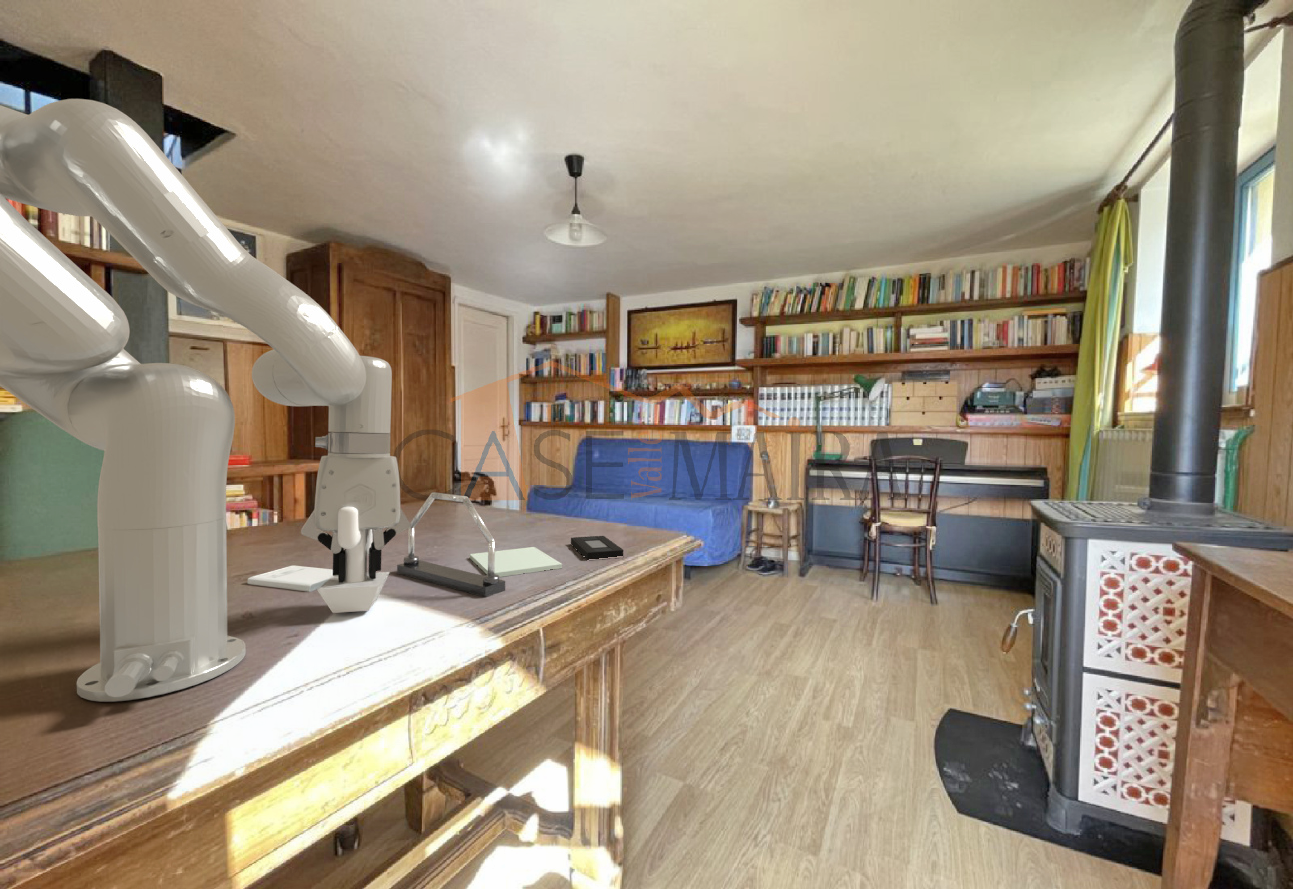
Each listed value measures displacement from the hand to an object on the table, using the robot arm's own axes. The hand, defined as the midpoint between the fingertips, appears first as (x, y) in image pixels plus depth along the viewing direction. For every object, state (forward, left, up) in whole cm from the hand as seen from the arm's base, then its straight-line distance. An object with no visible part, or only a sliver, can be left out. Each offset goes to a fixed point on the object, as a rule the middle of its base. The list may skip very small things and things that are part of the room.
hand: (357, 577), depth 71 cm
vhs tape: (+15, -45, -5) cm, 47 cm away
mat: (+13, -27, -5) cm, 30 cm away
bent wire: (+7, -14, -5) cm, 16 cm away
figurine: (0, 0, -4) cm, 4 cm away
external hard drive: (+19, +7, -5) cm, 21 cm away
